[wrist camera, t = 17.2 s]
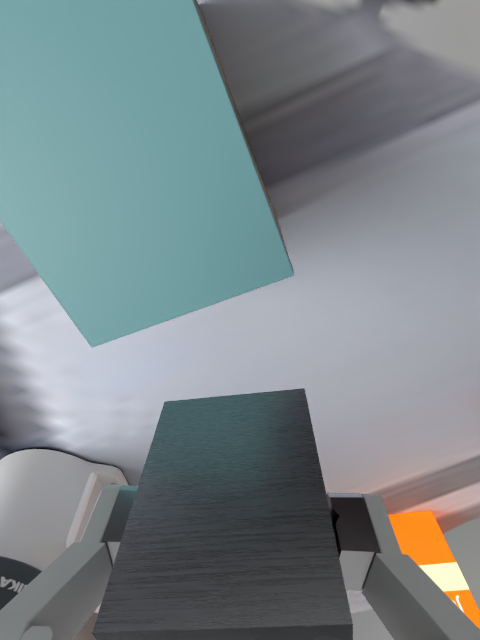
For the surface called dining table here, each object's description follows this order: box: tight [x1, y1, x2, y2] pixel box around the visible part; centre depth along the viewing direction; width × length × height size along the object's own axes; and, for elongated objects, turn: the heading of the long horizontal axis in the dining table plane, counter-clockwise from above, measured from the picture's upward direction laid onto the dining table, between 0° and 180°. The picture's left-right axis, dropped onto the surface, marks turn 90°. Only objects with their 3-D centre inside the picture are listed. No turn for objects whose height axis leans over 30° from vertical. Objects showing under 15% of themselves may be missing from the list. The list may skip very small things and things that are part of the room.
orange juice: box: [388, 510, 480, 629], centre depth 37 cm, size 8×9×20 cm
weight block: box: [92, 389, 353, 640], centre depth 10 cm, size 4×4×6 cm
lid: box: [0, 0, 294, 347], centre depth 16 cm, size 14×12×1 cm
